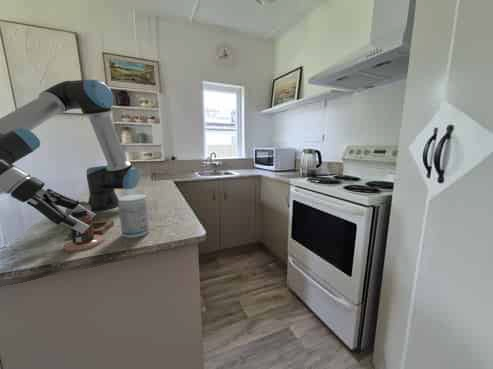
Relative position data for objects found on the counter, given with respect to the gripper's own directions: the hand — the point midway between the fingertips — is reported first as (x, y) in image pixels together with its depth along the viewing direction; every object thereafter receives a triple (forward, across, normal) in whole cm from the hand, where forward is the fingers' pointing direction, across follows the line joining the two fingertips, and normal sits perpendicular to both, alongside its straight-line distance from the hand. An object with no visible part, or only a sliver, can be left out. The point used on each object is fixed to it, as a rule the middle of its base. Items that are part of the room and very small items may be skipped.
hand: (89, 223), depth 72 cm
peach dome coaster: (+3, 0, -7) cm, 8 cm away
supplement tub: (+15, -1, +4) cm, 16 cm away
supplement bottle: (+3, 0, -6) cm, 7 cm away
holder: (+4, -12, -6) cm, 14 cm away
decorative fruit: (-1, -30, -11) cm, 32 cm away
